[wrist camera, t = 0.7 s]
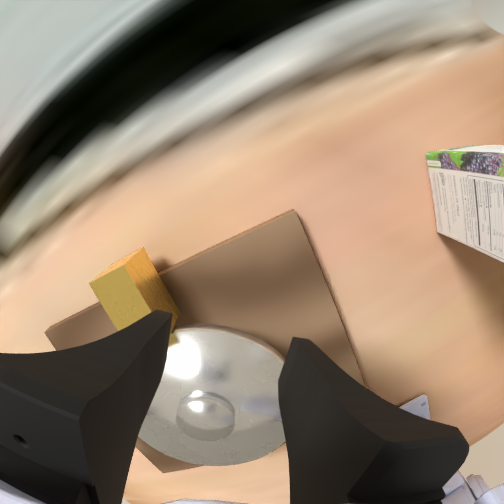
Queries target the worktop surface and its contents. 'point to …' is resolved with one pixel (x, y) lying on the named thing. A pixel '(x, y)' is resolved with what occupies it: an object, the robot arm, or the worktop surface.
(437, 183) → the syrup box
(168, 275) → the post board
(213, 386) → the small silver pan
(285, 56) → the worktop surface
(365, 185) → the worktop surface
